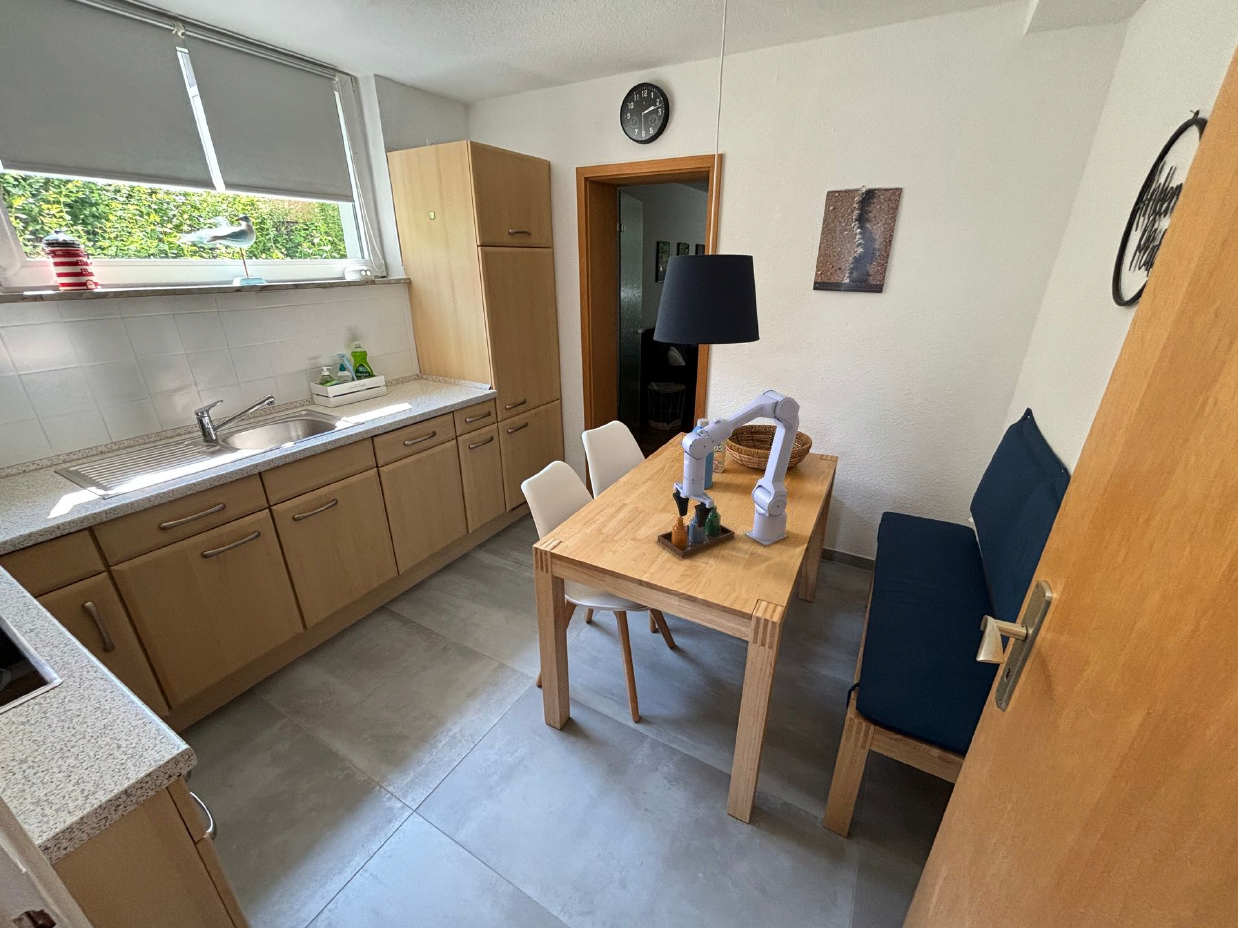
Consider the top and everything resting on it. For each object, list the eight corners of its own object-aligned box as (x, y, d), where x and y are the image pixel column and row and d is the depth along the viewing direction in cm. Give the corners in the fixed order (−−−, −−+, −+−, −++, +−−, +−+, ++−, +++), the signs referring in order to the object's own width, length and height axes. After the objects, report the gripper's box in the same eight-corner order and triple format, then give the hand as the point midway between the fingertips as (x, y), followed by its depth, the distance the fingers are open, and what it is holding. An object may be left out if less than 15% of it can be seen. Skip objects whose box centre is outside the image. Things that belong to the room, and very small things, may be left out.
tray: (708, 523, 157) (708, 517, 157) (733, 538, 149) (734, 532, 148) (657, 542, 147) (657, 535, 146) (682, 559, 138) (682, 552, 138)
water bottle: (695, 477, 192) (698, 414, 183) (717, 483, 186) (721, 419, 177) (682, 485, 185) (685, 420, 176) (704, 491, 180) (708, 425, 170)
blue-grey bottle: (696, 533, 151) (698, 507, 147) (706, 540, 147) (708, 513, 144) (685, 538, 148) (686, 511, 145) (695, 544, 145) (696, 517, 142)
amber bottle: (680, 540, 147) (681, 513, 144) (689, 546, 144) (691, 519, 140) (668, 544, 145) (669, 517, 142) (678, 551, 142) (679, 523, 138)
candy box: (700, 469, 199) (702, 433, 194) (703, 465, 203) (705, 430, 197) (721, 473, 195) (724, 436, 190) (724, 469, 199) (727, 433, 193)
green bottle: (712, 528, 154) (714, 501, 151) (722, 533, 151) (724, 507, 147) (701, 532, 152) (703, 505, 148) (711, 538, 148) (713, 511, 145)
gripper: (665, 471, 138) (664, 514, 144) (701, 489, 127) (698, 535, 132) (685, 465, 142) (683, 508, 147) (721, 483, 131) (718, 528, 136)
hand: (691, 520), depth 140 cm, fingers open, 7 cm apart
